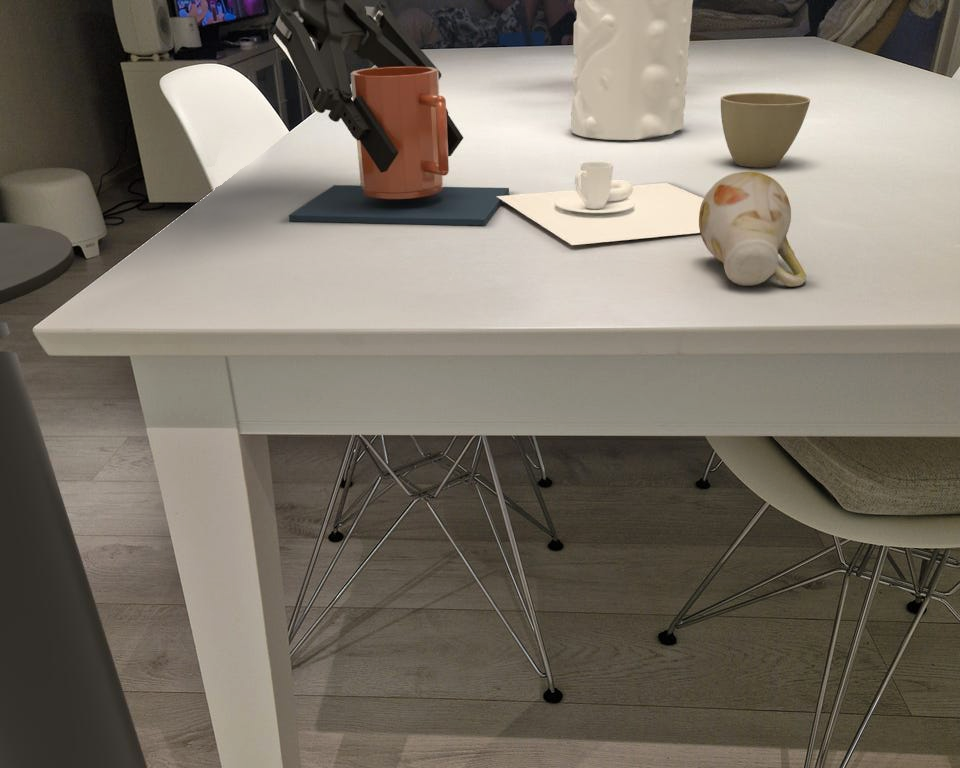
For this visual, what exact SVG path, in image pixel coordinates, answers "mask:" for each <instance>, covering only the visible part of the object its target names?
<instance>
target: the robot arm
mask: <svg viewBox="0 0 960 768" xmlns="http://www.w3.org/2000/svg"><path fill="white" fill-rule="evenodd" d="M274 1H275V2H276V4H277V6H278V7H279V8H280V10H281V11H280V13H279V15H278V17H277V20H276V22H275V24H274V27H273V33H274V35H275V36H276V37H277V39H278V40H279V41H280V42H281V43H282V44H283V46H284V47H285V49H286V50H287V53H288V55H289V58H290V59H291V61H292V63H293V65H294V67H295V70H296V73H297V75H298V77H299V79H300V81H301V83H302V87H304V90H305V91H306V94H307V97H308V98H309V101H310V103H311V106H312V108H313V110H314V111H316V112H318V113H319V114H323V113H325V111H329V113H328V116H327V117H328V118H329V119H330V120H331V121H332V122H334V123H338V122H339V121H340V120H341V121H342V122H343V124H344V125H345V127H346V128H347V130H348V132H349V133H350V134H351V136H352V137H353V138H354V139H355V140H356V142H357V141H358V140H360V142H361V143H362V145H363V146H364V148H365V149H366V151H367V152H368V154H369V155H370V157H371V158H372V160H373V161H374V163H375V164H376V166H377V167H378V169H379V170H380V172H381V173H382V172H386V171H387V170H388V168H389V167H390V165H391V164H392V162H393V160H394V159H395V157H396V156H397V154H398V153H399V152H398V150H397V149H396V147H395V146H394V144H393V143H392V141H391V140H390V138H389V137H388V135H387V134H386V132H385V131H384V129H383V128H382V126H381V125H380V123H379V122H378V120H377V119H376V117H375V116H374V114H373V113H372V111H371V110H370V108H369V107H368V105H367V104H366V102H365V101H364V99H363V98H362V96H358V97H355V99H354V101H353V96H352V85H351V80H350V76H349V72H348V69H347V63H346V58H345V55H344V51H350V52H353V53H354V54H355V55H356V56H358V57H359V58H360V59H362V60H365V59H367V60H369V62H371V63H372V64H373V65H374V66H375V67H376V68H378V67H396V66H421V67H433V68H436V69H438V68H437V66H436V65H435V64H434V63H433V61H432V60H431V59H430V58H429V57H428V56H427V55H426V54H425V52H424V51H423V50H422V49H421V48H420V47H419V46H418V44H417V43H416V41H414V39H413V38H412V37H411V36H410V35H409V34H408V33H407V31H406V30H405V29H404V28H403V26H402V25H401V24H400V23H399V22H398V20H396V18H395V16H394V15H393V13H392V11H391V9H390V7H389V5H388V4H387V2H385V1H383V0H377V2H376V4H375V6H367V5H365V4H364V2H363V1H362V0H274ZM367 33H368V36H367ZM366 36H367V38H366ZM365 38H366V40H365ZM364 40H365V42H364V44H363V41H364ZM438 76H439V80H440V79H441V78H442V73H441V71H440V70H439V69H438ZM446 116H447V139H448V158H449V157H451V156H452V155H453V154H454V152H455V150H456V149H457V148H458V147H459V146H460V144H461V143H462V141H463V140H464V136H463V135H462V133H461V132H460V130H459V129H458V127H457V125H456V124H455V123H454V121H453V119H452V117H450V115H449V111H448V108H447V107H446Z"/></svg>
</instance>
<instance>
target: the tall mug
mask: <svg viewBox="0 0 960 768" xmlns="http://www.w3.org/2000/svg"><path fill="white" fill-rule="evenodd" d="M436 68H437V67H436ZM436 68H433V67H421V66H396V67H370V68H369V67H368V68H362V69H357V70H353V71H352V72H350V86H351V90H352V101H354V99H355V97H358V96H362V98H363V99H364V101H365V102H366V104H367V105H368V107H369V108H370V110H371V111H372V113H373V114H374V116H375V117H376V119H377V120H378V122H379V123H380V125H381V126H382V128H383V129H384V131H385V132H386V134H387V135H388V137H389V138H390V140H391V141H392V143H393V144H394V146H395V147H396V149H397V150H398V152H399V153H398V154H397V156H396V157H395V159H394V160H393V162H392V164H391V165H390V167H389V168H388V170H387V171H386V172H382V173H381V172H380V170H379V169H378V167H377V166H376V164H375V163H374V161H373V160H372V158H371V157H370V155H369V154H368V152H367V151H366V149H365V148H364V146H363V145H362V143H361V142H360V140H358V141H357V140H356V148H357V158H358V170H359V181H360V186H361V187H362V193H363V194H364V195H366V196H369V197H373V198H381V199H410V198H419V197H425V196H430V195H433V194H436V193H439V192H441V191H442V190H443V187H444V176H448V174H449V172H450V166H449V165H450V164H449V157H448V139H447V116H446V108H447V100H446V98H445V96H443V95H440V79H439V76H438V70H439V68H437V69H436Z"/></svg>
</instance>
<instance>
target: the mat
mask: <svg viewBox="0 0 960 768" xmlns="http://www.w3.org/2000/svg"><path fill="white" fill-rule="evenodd" d="M507 195H510V188H509V187H473V186H472V187H471V186H466V187H465V186H443V190H442V191H441V192H439V193H436V194H433V195H430V196H425V197H419V198H410V199H381V198H373V197H369V196H366V195H364V194H363V193H362V187H361V185H355V184H354V185H349V184H348V185H346V184H345V185H344V184H343V185H342V184H334V185H332V186H330V187H329V188H328V189H326V190H325V191H323V192H321V193H320V194H318V195H317V196H315V197H314V198H312V199H311V200H308V202H306V203H305V204H303V205H301V206H300V207H298V208H297V209H296V210H294V211H292V212H290V213H289V214H288V221H289V222H304V223H307V222H308V223H309V222H310V223H348V224H350V223H352V224H355V223H356V224H392V225H394V224H395V225H435V226H436V225H437V226H439V225H440V226H442V225H443V226H476V227H477V226H479V227H480V226H481V227H483V226H484V227H485V226H486V225H487V223H488V222H489V220H490V219H491V218H492V216H493V215H494V214H495V213H496V211H497V210H498V209H499V207H500V206H501V204H502V203H503V202H504V201H503V200H501V199H499V198H498V197H496V196H507Z"/></svg>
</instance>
